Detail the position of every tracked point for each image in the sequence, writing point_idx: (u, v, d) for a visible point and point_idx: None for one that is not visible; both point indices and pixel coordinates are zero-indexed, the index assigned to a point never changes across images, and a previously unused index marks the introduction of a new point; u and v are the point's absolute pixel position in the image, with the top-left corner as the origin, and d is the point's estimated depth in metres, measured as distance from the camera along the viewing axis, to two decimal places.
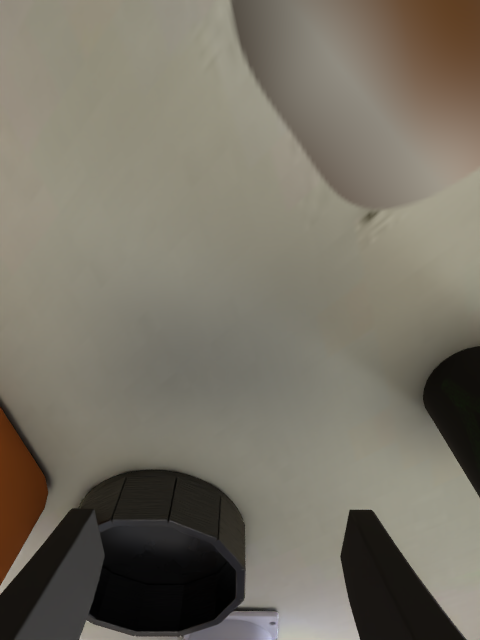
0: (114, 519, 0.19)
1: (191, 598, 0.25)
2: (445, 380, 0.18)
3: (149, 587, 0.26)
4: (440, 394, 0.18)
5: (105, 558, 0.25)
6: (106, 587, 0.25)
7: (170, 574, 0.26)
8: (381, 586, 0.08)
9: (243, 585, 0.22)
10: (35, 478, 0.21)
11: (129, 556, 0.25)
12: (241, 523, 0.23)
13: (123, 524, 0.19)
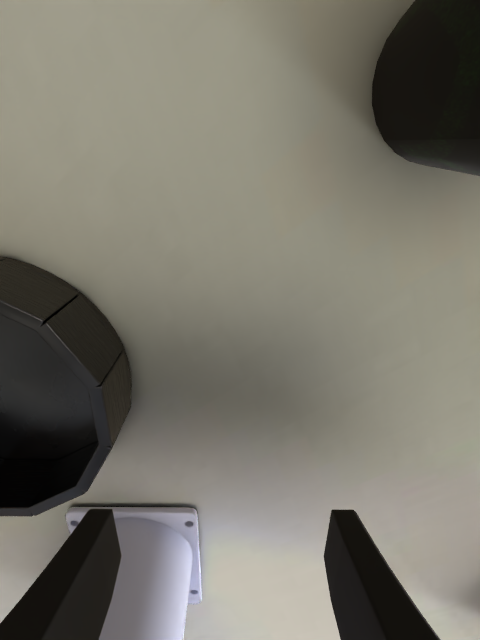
0: None
1: (59, 471, 0.18)
2: (400, 22, 0.11)
3: (7, 462, 0.19)
4: (392, 45, 0.11)
5: None
6: None
7: (35, 442, 0.19)
8: (359, 586, 0.08)
9: (104, 418, 0.14)
10: None
11: None
12: (115, 345, 0.16)
13: None
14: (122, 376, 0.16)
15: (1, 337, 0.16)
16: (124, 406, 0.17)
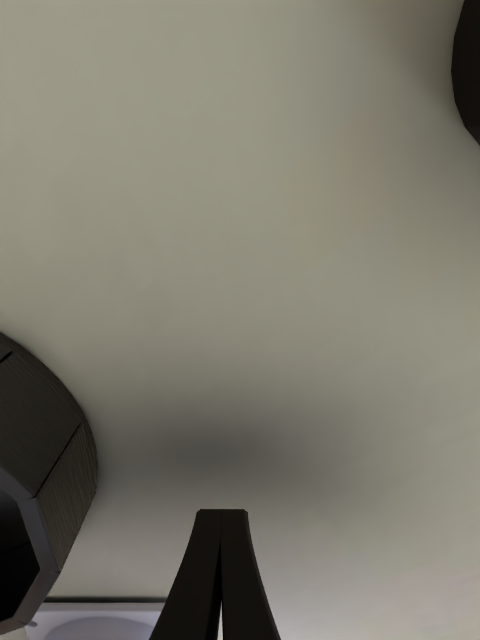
0: None
1: (0, 576, 0.13)
2: None
3: None
4: None
5: None
6: None
7: None
8: None
9: (45, 539, 0.10)
10: None
11: None
12: (69, 417, 0.11)
13: None
14: (80, 460, 0.12)
15: None
16: (84, 499, 0.12)
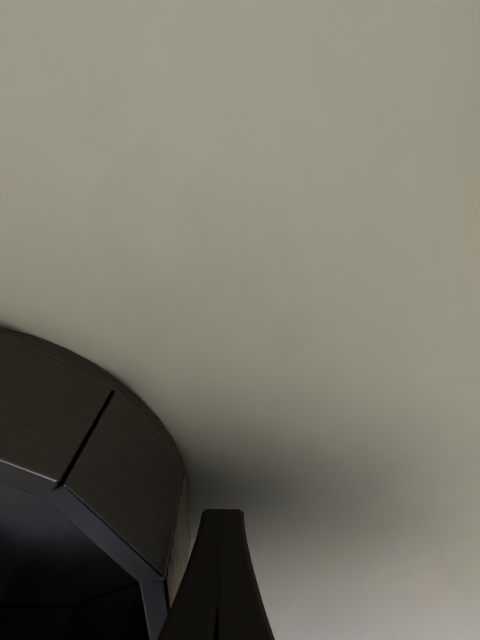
0: None
1: (77, 639, 0.12)
2: None
3: None
4: None
5: None
6: None
7: (40, 586, 0.12)
8: None
9: None
10: None
11: None
12: (174, 464, 0.10)
13: None
14: (184, 513, 0.10)
15: None
16: (186, 556, 0.10)
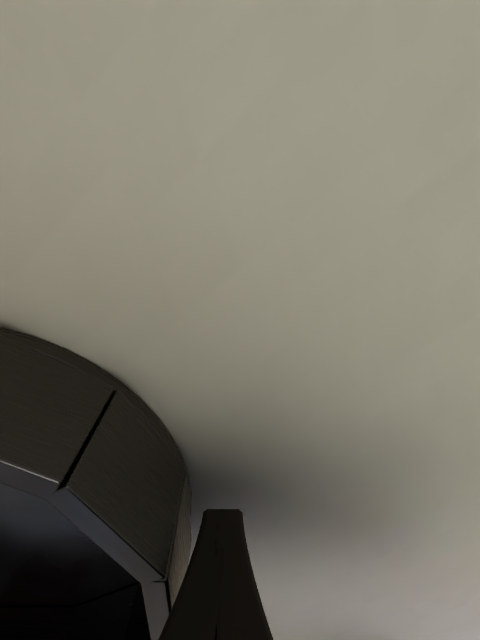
0: None
1: (78, 639, 0.12)
2: None
3: None
4: None
5: None
6: None
7: (40, 586, 0.12)
8: None
9: None
10: None
11: None
12: (175, 465, 0.10)
13: None
14: (185, 514, 0.10)
15: None
16: (186, 557, 0.10)
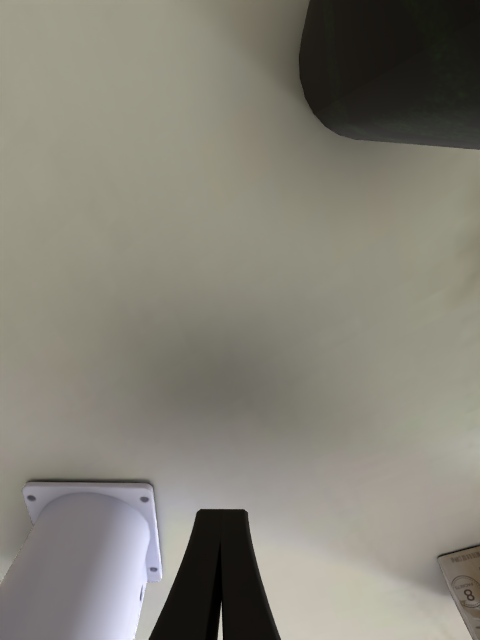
0: None
1: None
2: None
3: None
4: (307, 16, 0.11)
5: None
6: None
7: None
8: None
9: None
10: None
11: None
12: None
13: None
14: None
15: None
16: None
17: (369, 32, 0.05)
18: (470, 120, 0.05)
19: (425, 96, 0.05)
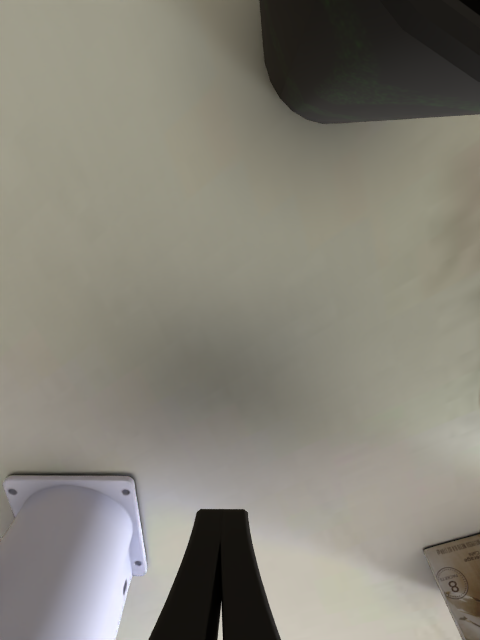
0: None
1: None
2: None
3: None
4: None
5: None
6: None
7: None
8: None
9: None
10: None
11: None
12: None
13: None
14: None
15: None
16: None
17: None
18: (379, 75, 0.05)
19: (337, 54, 0.05)
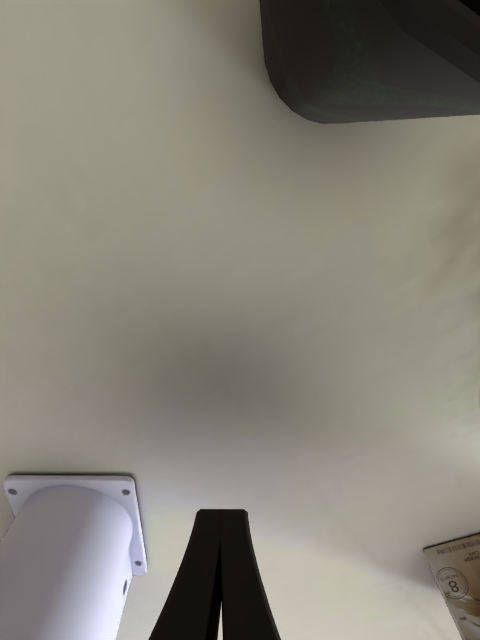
0: None
1: None
2: None
3: None
4: None
5: None
6: None
7: None
8: None
9: None
10: None
11: None
12: None
13: None
14: None
15: None
16: None
17: None
18: (378, 76, 0.05)
19: (337, 54, 0.05)
